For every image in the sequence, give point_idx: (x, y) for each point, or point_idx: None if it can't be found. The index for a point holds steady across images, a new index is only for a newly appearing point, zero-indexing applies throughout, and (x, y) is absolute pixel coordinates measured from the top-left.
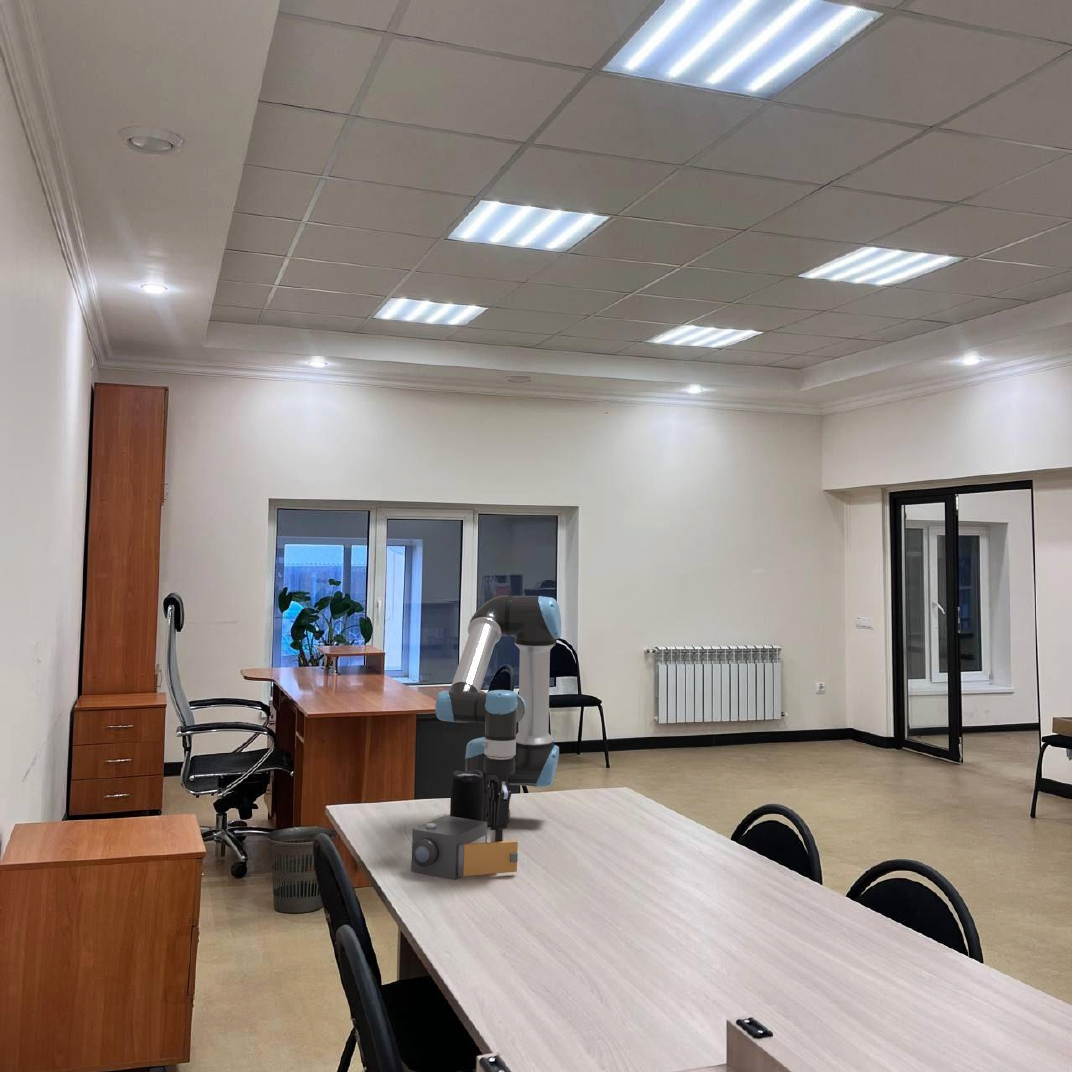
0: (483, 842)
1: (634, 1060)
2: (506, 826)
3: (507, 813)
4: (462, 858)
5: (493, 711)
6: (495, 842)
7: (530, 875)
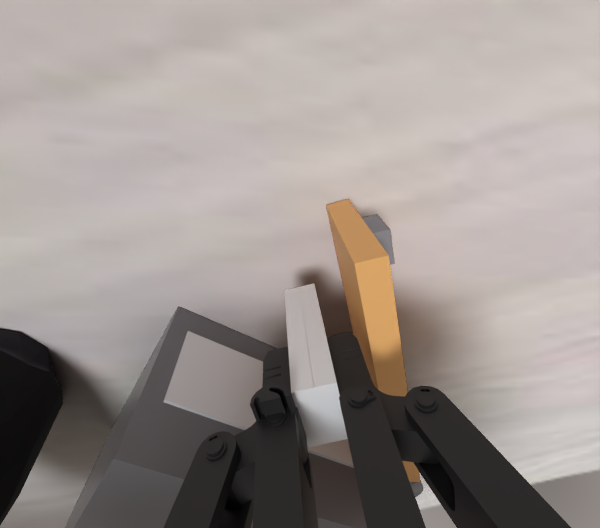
0: (191, 382)
1: None
2: (450, 402)
3: (556, 521)
4: None
5: None
6: (387, 372)
7: (337, 128)
